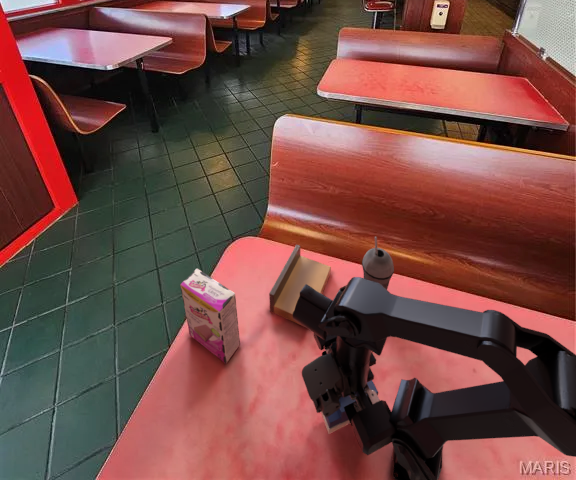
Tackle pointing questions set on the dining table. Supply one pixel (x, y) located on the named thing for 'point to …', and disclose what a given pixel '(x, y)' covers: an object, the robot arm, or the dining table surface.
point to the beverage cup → (378, 266)
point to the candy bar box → (211, 314)
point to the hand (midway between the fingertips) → (348, 403)
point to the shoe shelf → (296, 283)
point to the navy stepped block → (342, 412)
